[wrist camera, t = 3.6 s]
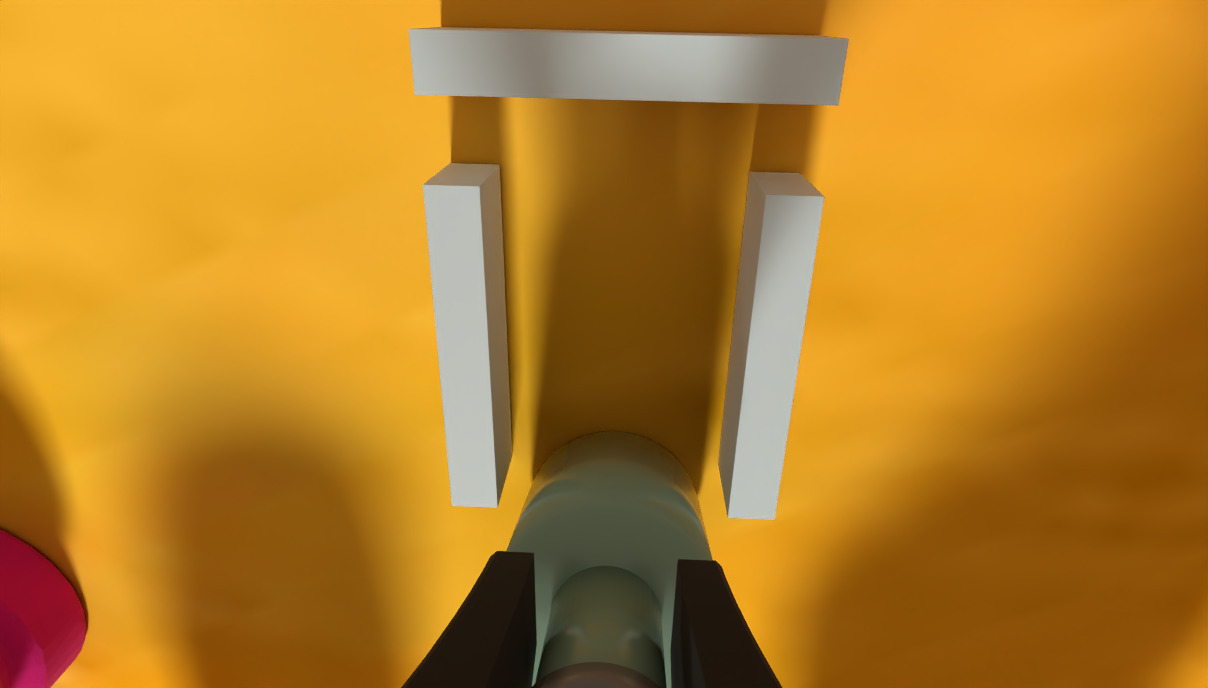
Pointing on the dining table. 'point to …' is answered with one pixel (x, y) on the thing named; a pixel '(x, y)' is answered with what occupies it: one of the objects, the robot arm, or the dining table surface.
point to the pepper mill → (35, 618)
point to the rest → (768, 253)
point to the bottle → (608, 560)
